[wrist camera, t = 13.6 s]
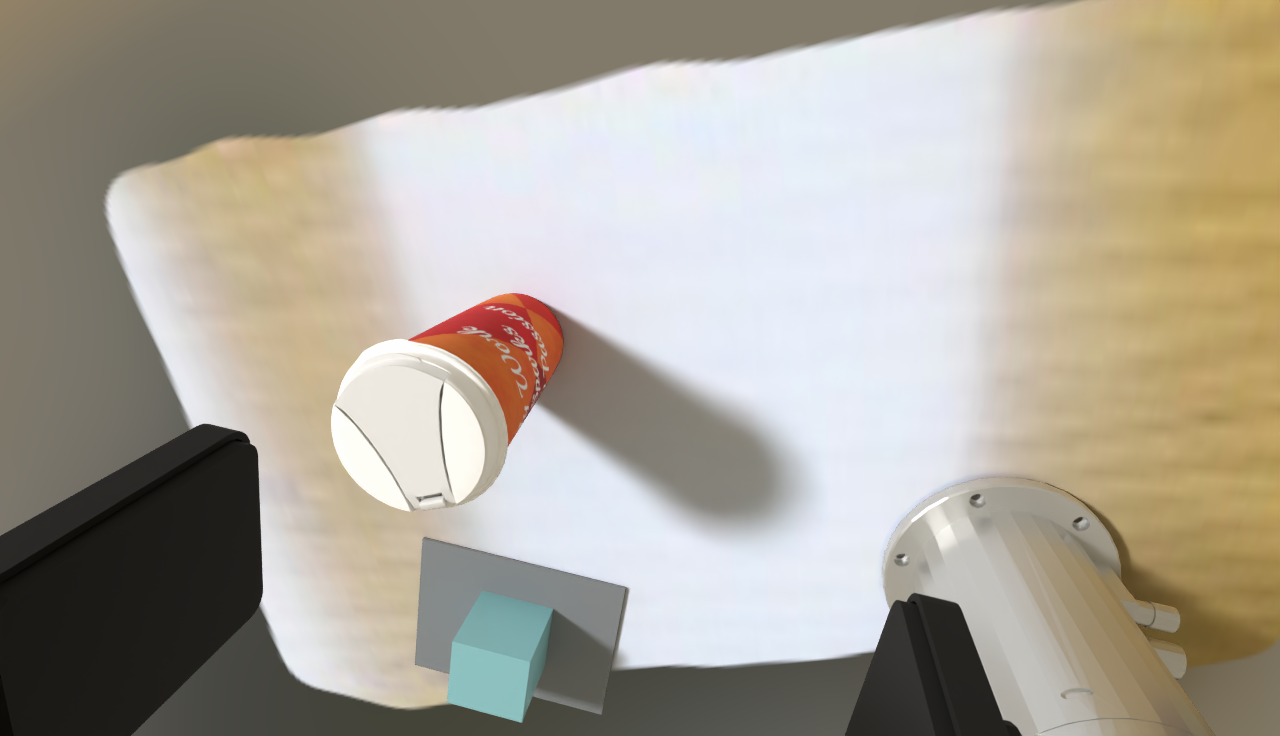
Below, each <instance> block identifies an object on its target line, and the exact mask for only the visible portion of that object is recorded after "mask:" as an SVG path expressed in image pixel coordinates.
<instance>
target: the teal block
mask: <svg viewBox="0 0 1280 736" xmlns="http://www.w3.org/2000/svg"><path fill="white" fill-rule="evenodd" d="M552 613H553V608H549V607H545V606H541V605H537V604H533V603H529V602H525V601H521V600H517V599H513V598H509V597H506V596H502V595H498V594H494V593H490V592H486V591H482V592H481V594H480V596H479V597H478V599H477V601H476V602H475V604H474V606H473V607H472V609H471V611H470V612H469V614H468V616H467V618H466V619H465V621H464V623H463V624H462V626H461V628H460V629H459V631H458V633H457V634H456V636H455V638H454V639H453V641H452V651H451V662H450V674H449V686H448V698H447V702H448V703H452V704H455V705H459V706H463V707H466V708H470V709H474V710H477V711H481V712H485V713H488V714H492V715H496V716H499V717H503V718H507V719H510V720H514V721H518V722H522V721H523V718H524V716H525V713H526V711H527V708H528V706H529V703H530V701H531V699H532V696H533V694H534V691H535V689H536V686H537V684H538V681H539V679H540V676H541V674H542V671H543V669H544V666H545V661H546V654H547V647H548V640H549V634H550V627H551V620H552Z"/></svg>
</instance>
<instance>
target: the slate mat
mask: <svg viewBox="0 0 1280 736" xmlns="http://www.w3.org/2000/svg"><path fill="white" fill-rule="evenodd" d="M625 590H626V587H623V586H619V585H615V584H611V583H607V582H603V581H599V580H595V579H591V578H587V577H583V576H578V575H574V574H570V573H566V572H562V571H558V570H554V569H550V568H546V567H542V566H538V565H534V564H530V563H526V562H522V561H518V560H514V559H510V558H506V557H502V556H498V555H494V554H490V553H486V552H482V551H478V550H474V549H470V548H466V547H462V546H457V545H453V544H449V543H445V542H441V541H437V540H433V539H429V538H425V537H424V538H423V542H422V558H421V574H420V591H419V607H418V623H417V639H416V656H415V665H418V666H421V667H425V668H429V669H433V670H436V671H440V672H444V673H448V674H450V662H451V651H452V641H453V639H454V638H455V636H456V634H457V633H458V631H459V629H460V628H461V626H462V624H463V623H464V621H465V619H466V618H467V616H468V614H469V612H470V611H471V609H472V607H473V606H474V604H475V602H476V601H477V599H478V597H479V596H480V594H481V592H482V591H486V592H490V593H494V594H498V595H502V596H506V597H509V598H513V599H517V600H521V601H525V602H529V603H533V604H537V605H541V606H545V607H549V608H553V613H552V620H551V627H550V634H549V640H548V647H547V654H546V661H545V666H544V669H543V671H542V674H541V676H540V679H539V681H538V684H537V686H536V689H535V691H534V694H533V696H534V697H537V698H541V699H545V700H549V701H552V702H556V703H560V704H564V705H568V706H572V707H575V708H579V709H582V710H587V711H590V712H594V713H598V714H602V710H603V705H604V700H605V695H606V689H607V684H608V678H609V674H610V668H611V663H612V658H613V653H614V647H615V642H616V637H617V632H618V626H619V621H620V616H621V611H622V606H623V600H624V595H625Z"/></svg>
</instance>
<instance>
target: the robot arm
mask: <svg viewBox="0 0 1280 736" xmlns="http://www.w3.org/2000/svg"><path fill="white" fill-rule="evenodd" d="M975 494H977V495H976V496H973V495H975ZM1121 569H1122V568H1121V563H1120V558H1119V554H1118V550H1117V548H1116V545H1115V543H1114V541H1113V539H1112V537H1111V535H1110V533H1109V532H1108V530H1107V529H1106V528H1105V526H1104V525H1103V524H1102V523H1101V521H1100V520H1099V519H1098V517H1097V516H1096V515H1095V514H1094V513H1093V512H1092V511H1091V510H1090V509H1089V508H1088V507H1087V506H1086V505H1085V504H1084V503H1082V502H1081V501H1079V500H1078V499H1076V498H1074V497H1073V496H1071V495H1070V494H1068V493H1067V492H1065V491H1063V490H1060V489H1058V488H1055V487H1053V486H1050V485H1048V484H1046V483H1042V482H1037V481H1032V480H1028V479H1023V478H1008V477H995V478H985V479H976V480H972V481H968V482H965V483H961V484H957V485H954V486H951V487H949V488H947V489H945V490H942V491H940V492H938V493H936V494H934V495H932V496H931V497H929V498H928V499H926V500H925V501H923V502H922V503H920V504H919V505H917V506H916V507H915V508H914V509H913V510H912V511H911V512H910V513H909V514H908V515H907V516H906V517H905V518H904V519H903V520H902V521H901V522H900V524H899V525H898V527H897V528H896V530H895V531H894V533H893V534H892V535H891V538H890V540H889V543H888V545H887V548H886V550H885V553H884V559H883V565H882V578H883V588H884V592H885V595H886V600H887V604H888V606H889V608H890V612H889V615H888V617H887V620H886V623H885V626H884V628H883V631H882V634H881V637H880V639H879V642H878V645H877V648H876V651H875V653H874V656H873V659H872V662H871V664H870V667H869V670H868V673H867V675H866V678H865V681H864V684H863V686H862V689H861V692H860V695H859V698H858V700H857V703H856V706H855V709H854V711H853V714H852V717H851V720H850V722H849V725H848V728H847V731H846V733H845V736H1215V735H1214V733H1213V732H1212V730H1211V729H1210V728H1209V726H1208V725H1207V723H1206V722H1205V721H1204V719H1203V718H1202V716H1201V715H1200V713H1199V712H1198V710H1197V709H1196V708H1195V706H1194V705H1193V703H1192V702H1191V701H1190V699H1189V698H1188V696H1187V695H1186V693H1185V692H1184V691H1183V689H1182V688H1181V686H1180V685H1179V684H1178V682H1177V681H1176V680H1179V679H1181V678H1182V676H1183V675H1184V674H1185V672H1186V667H1187V659H1186V654H1185V652H1184V650H1183V648H1182V647H1181V646H1179V645H1178V644H1176V643H1171V642H1167V641H1163V640H1159V639H1154V638H1150V637H1146V636H1145V635H1144V634H1143V633H1142V631H1141V630H1140V628H1139V627H1138V625H1137V624H1140V625H1144V626H1145V627H1147V628H1151V629H1155V630H1160V631H1164V632H1168V633H1175V632H1176V631H1177V630H1178V628H1179V625H1180V614H1179V612H1178V610H1177V609H1176V608H1174V607H1172V606H1167V605H1163V604H1159V603H1155V602H1150V601H1148V602H1145V601H1140V600H1136V599H1134V597H1133V596H1132V594H1131V593H1129V591H1128V590H1127V589H1126V587H1125V586H1124V585H1123V583H1122V582H1121ZM262 594H263V578H262V551H261V525H260V498H259V471H258V453H257V449H256V448H255V446H253V445H252V444H250V440H249V438H248V436H247V435H246V434H244V433H243V432H240V431H236V430H232V429H227V428H223V427H219V426H215V425H211V424H201V425H199V426H196V427H194V428H193V429H191V430H189V431H187V432H185V433H184V434H182V435H180V436H178V437H177V438H175V439H173V440H171V441H169V442H168V443H166V444H164V445H162V446H160V447H159V448H157V449H155V450H153V451H151V452H150V453H148V454H146V455H144V456H143V457H141V458H139V459H137V460H136V461H134V462H132V463H130V464H128V465H126V466H125V467H123V468H121V469H119V470H118V471H116V472H114V473H112V474H110V475H109V476H107V477H105V478H103V479H101V480H100V481H98V482H96V483H94V484H92V485H91V486H89V487H87V488H85V489H84V490H82V491H80V492H78V493H76V494H75V495H73V496H71V497H69V498H68V499H66V500H64V501H62V502H60V503H58V504H57V505H55V506H53V507H51V508H49V509H48V510H46V511H44V512H43V513H41V514H39V515H37V516H35V517H33V518H32V519H30V520H28V521H26V522H25V523H23V524H21V525H19V526H17V527H16V528H14V529H12V530H10V531H8V532H7V533H5V534H3V535H1V536H0V736H131V735H132V734H133V733H134V732H135V731H136V730H137V729H138V728H139V727H140V726H141V725H142V724H143V723H144V722H145V721H146V720H147V719H148V718H149V717H150V716H151V715H152V714H153V713H154V712H155V711H156V710H157V709H158V708H159V707H160V706H161V705H162V704H163V703H164V702H165V701H166V700H167V699H168V698H170V696H172V695H173V693H174V692H176V691H177V690H178V689H179V688H180V687H181V686H182V685H183V683H185V682H186V681H187V680H188V679H189V678H190V677H191V676H192V675H193V674H194V673H195V672H196V671H197V670H198V669H199V668H200V667H201V666H202V665H203V664H204V663H205V662H206V661H207V660H208V659H209V658H210V657H211V656H212V655H213V654H214V653H215V652H216V651H217V650H218V649H219V648H220V647H221V646H222V645H223V644H224V643H225V642H226V641H227V640H228V639H229V638H230V637H231V636H232V635H233V634H234V633H236V632H237V630H238V629H240V628H241V627H242V626H243V625H244V624H245V623H246V622H247V621H248V620H249V619H250V618H251V617H252V615H253V614H254V613H255V611H256V610H257V608H258V606H259V604H260V602H261V598H262Z"/></svg>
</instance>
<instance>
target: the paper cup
mask: <svg viewBox="0 0 1280 736" xmlns="http://www.w3.org/2000/svg"><path fill="white" fill-rule="evenodd" d="M562 351H563V334H562V330H561V327H560V324H559V322H558V320H557V319H556V317H555V315H554V314H553V313H552V312H551V310H550V309H549V308H548V307H547V306H546V305H544V304H543V303H542V302H540V301H539V300H537V299H535V298H533V297H530V296H528V295H524V294H518V293H510V294H503V295H499V296H496V297H494V298H491V299H489V300H487V301H485V302H482V303H480V304H478V305H476V306H474V307H472V308H470V309H468V310H466V311H464V312H462V313H460V314H458V315H456V316H454V317H452V318H450V319H448V320H446V321H444V322H442V323H440V324H438V325H436V326H434V327H433V328H431V329H429V330H427V331H425V332H423V333H421V334H419V335H417V336H415V337H413V338H411V339H409V340H404V339H395V340H388V341H385V342H382V343H379V344H376V345H374V346H372V347H370V348H368V349H366V350H365V351H363V353H362V354H361V355H360V357H359V358H358V359H357V361H356V362H355V363H354V364H353V366H352V367H351V368H350V369H349V370H348V372H347V374H346V375H345V377H344V379H343V381H342V383H341V387H340V390H339V393H338V398H337V400H336V401H335V403H334V406H333V411H332V418H331V428H332V436H333V442H334V445H335V448H336V451H337V454H338V456H339V458H340V460H341V462H342V464H343V466H344V467H345V469H346V470H347V471H348V473H349V474H350V476H351V477H352V478H353V479H354V480H355V481H356V482H357V484H358V485H359V486H361V487H362V488H363V489H364V490H365V491H366V492H367V493H369V494H370V495H372V496H373V497H375V498H376V499H378V500H379V501H381V502H383V503H385V504H387V505H389V506H392V507H395V508H398V509H401V510H405V511H410V512H411V511H412V512H413V511H415V510H416V509H422V510H431V509H437V508H447V507H453V506H457V505H461V504H464V503H467V502H469V501H471V500H474V499H475V498H477V497H478V496H480V495H481V494H483V493H484V492H485V491H486V490H487V489H488V488H489V487H490V486H491V485H492V484H493V483H494V481H495V480H496V478H497V477H498V475H499V474H500V472H501V470H502V467H503V465H504V463H505V458H506V454H507V448H508V446H509V444H510V443H511V441H512V439H513V438H514V436H515V435H516V433H517V431H518V430H519V428H520V427H521V425H522V423H523V422H524V420H525V419H526V417H527V415H528V414H529V412H530V411H531V409H532V407H533V406H534V404H535V403H536V401H537V399H538V398H539V396H540V394H541V393H542V391H543V389H544V388H545V386H546V385H547V383H548V381H549V380H550V378H551V376H552V374H553V373H554V371H555V369H556V367H557V365H558V363H559V361H560V358H561V355H562Z"/></svg>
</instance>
